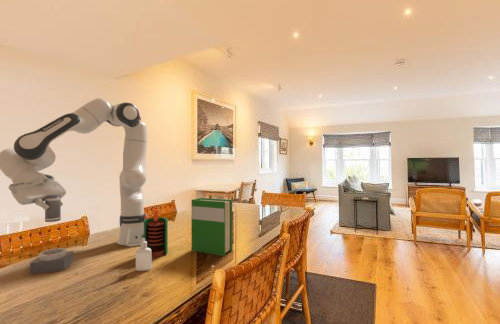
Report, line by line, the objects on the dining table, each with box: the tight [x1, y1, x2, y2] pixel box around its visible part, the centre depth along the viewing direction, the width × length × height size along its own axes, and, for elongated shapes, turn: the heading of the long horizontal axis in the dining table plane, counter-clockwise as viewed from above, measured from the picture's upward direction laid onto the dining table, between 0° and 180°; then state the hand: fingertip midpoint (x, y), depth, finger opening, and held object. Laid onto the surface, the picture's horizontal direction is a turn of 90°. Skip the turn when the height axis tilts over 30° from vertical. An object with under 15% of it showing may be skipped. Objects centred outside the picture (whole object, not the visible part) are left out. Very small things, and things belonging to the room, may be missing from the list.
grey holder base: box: [29, 247, 75, 275], centre depth 106 cm, size 11×11×6 cm
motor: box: [144, 208, 169, 258], centre depth 120 cm, size 10×9×20 cm
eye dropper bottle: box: [135, 238, 153, 272], centre depth 103 cm, size 4×6×12 cm
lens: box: [44, 194, 62, 223], centre depth 106 cm, size 5×5×10 cm
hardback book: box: [191, 197, 233, 257], centre depth 124 cm, size 18×7×24 cm, turn 66°
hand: (54, 207), depth 106 cm, fingers closed on lens, 5 cm apart
